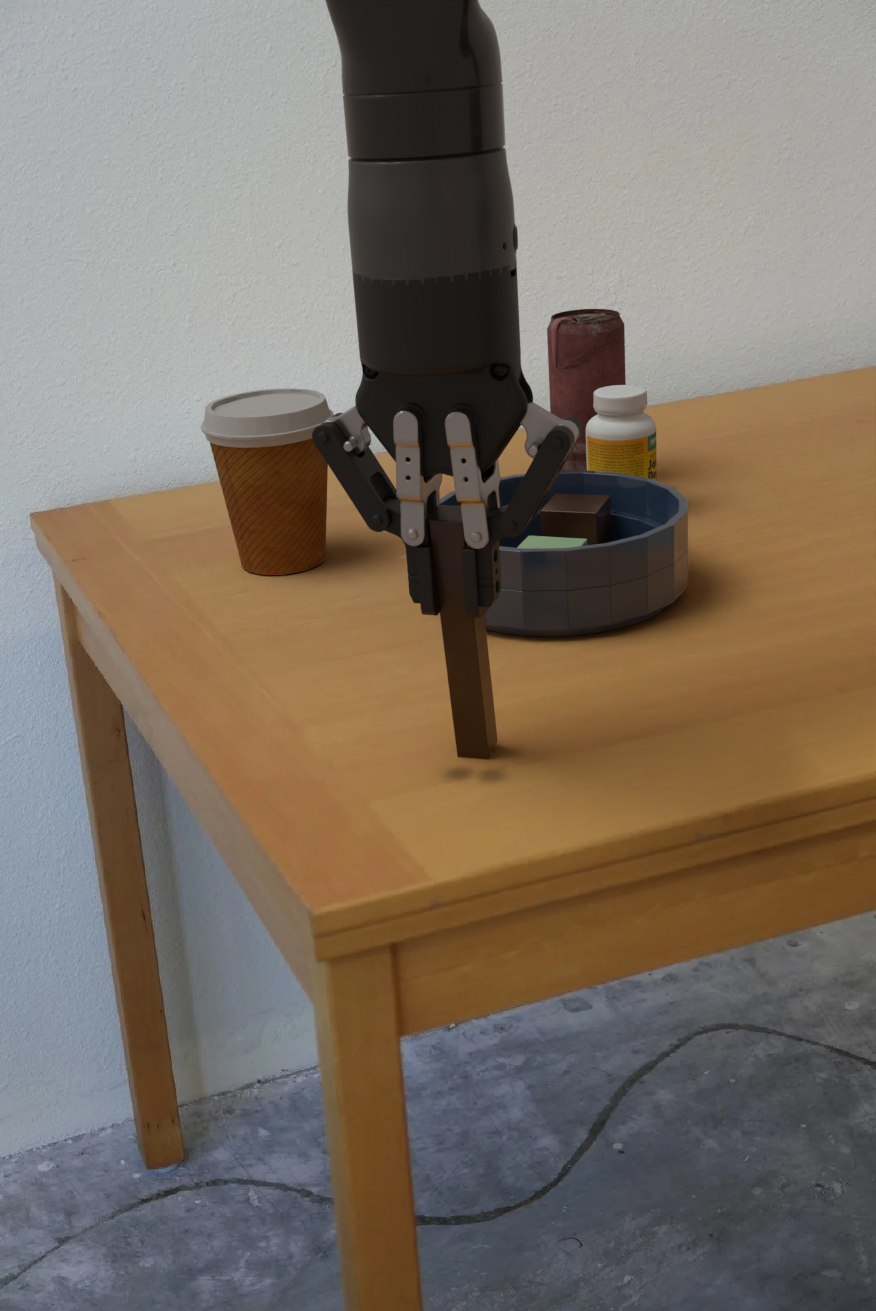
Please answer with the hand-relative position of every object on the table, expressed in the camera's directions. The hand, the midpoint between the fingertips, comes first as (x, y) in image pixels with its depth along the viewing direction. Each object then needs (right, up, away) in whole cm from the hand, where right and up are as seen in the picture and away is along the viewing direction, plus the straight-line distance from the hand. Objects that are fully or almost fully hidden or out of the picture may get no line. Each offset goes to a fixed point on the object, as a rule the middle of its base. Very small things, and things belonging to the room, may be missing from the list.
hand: (457, 609), depth 74 cm
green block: (+6, +1, +22) cm, 23 cm away
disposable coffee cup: (-12, +5, +36) cm, 38 cm away
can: (+12, +12, +49) cm, 51 cm away
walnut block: (+9, +5, +30) cm, 31 cm away
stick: (+1, -7, +5) cm, 9 cm away
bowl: (+7, +2, +26) cm, 27 cm away
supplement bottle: (+13, +9, +41) cm, 44 cm away
